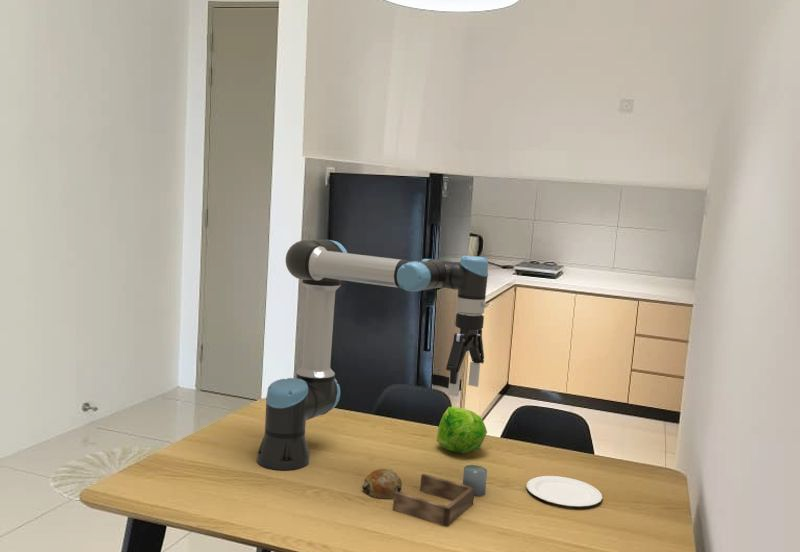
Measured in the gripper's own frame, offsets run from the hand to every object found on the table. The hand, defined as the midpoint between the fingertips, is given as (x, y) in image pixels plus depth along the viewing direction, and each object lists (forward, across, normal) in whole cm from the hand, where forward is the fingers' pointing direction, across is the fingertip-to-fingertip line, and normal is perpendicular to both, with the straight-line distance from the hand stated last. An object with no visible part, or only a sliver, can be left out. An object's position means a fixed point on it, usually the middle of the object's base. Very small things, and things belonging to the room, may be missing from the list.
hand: (463, 390), depth 195 cm
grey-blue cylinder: (+28, +2, -5) cm, 29 cm away
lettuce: (+28, +31, +12) cm, 43 cm away
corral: (+28, -14, 0) cm, 31 cm away
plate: (+29, +17, -26) cm, 42 cm away
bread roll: (+28, -14, +15) cm, 35 cm away
